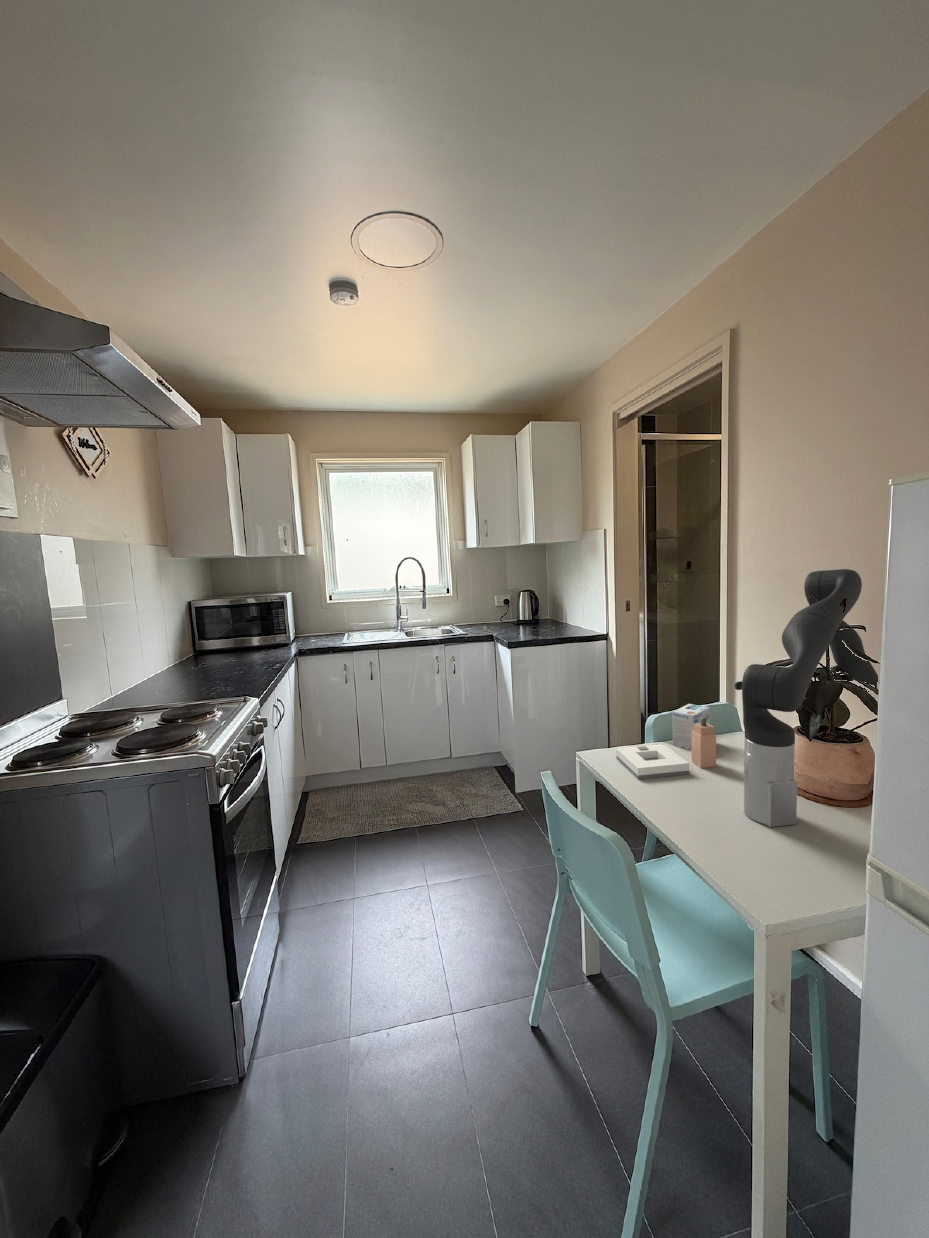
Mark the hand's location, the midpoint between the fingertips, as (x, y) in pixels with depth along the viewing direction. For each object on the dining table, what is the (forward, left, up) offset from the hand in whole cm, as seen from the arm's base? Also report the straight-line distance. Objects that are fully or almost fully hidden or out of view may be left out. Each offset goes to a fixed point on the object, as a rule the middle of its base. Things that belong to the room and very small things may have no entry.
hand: (745, 689), depth 137 cm
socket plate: (+2, +26, -20) cm, 33 cm away
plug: (0, +12, -20) cm, 23 cm away
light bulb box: (+15, +7, -20) cm, 26 cm away
